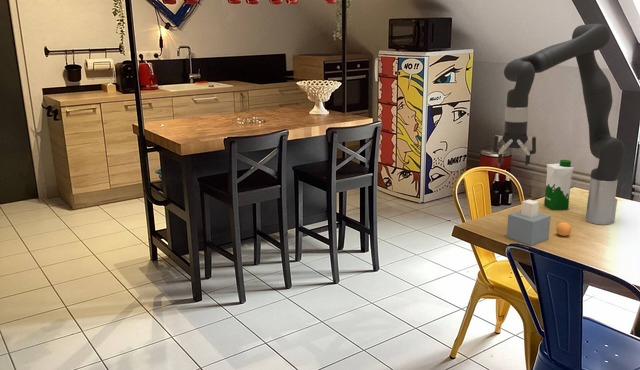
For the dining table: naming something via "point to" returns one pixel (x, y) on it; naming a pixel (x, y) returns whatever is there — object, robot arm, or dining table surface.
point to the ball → (563, 229)
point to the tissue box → (528, 224)
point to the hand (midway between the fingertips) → (513, 164)
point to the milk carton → (558, 185)
